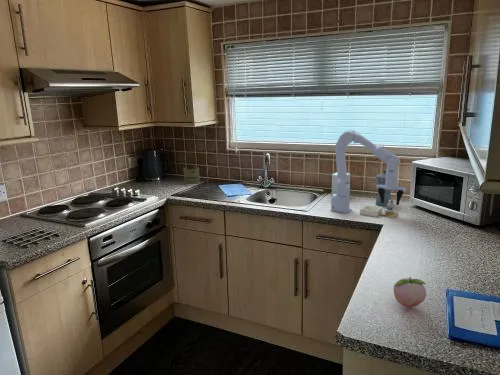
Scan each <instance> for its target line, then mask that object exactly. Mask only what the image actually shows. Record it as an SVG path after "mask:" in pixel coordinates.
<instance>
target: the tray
mask: <svg viewBox="0 0 500 375" xmlns="http://www.w3.org/2000/svg"><path fill="white" fill-rule="evenodd" d="M383 208H384V207H382V206H378V205H370V204H365V205H364V206H362V207H361V208H359V215H362V216H368V217H374V218H378V217H379V216H380V215H381V213H382V212H383Z"/></svg>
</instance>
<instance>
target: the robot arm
mask: <svg viewBox="0 0 500 375" xmlns="http://www.w3.org/2000/svg"><path fill="white" fill-rule="evenodd" d="M351 143H353V144H360V145H362V146H364V147H365V148H367V149H368V150H370V151H371V152H372V154H373V156H375V157H376V158H377V159H378V160H380V161H382V162H384V163H385V165H386V169H385V171H386V182H385V185H377V184H376V189H377V193H379V195H380V198H381V202H382V203H384V194H385V190H391V191H395V192H396V202H395V203H396V206H399V204H400V200H401V198H402V197H403V195H404V193H405V192H407V187H404V186H399V185H398V179H399V177H398V174H399V169H398V168H399V161H400V158H399V156H398V155H397V154H395V153H393V152H390V151H389V150H388V149H386V147H385V146H384V145H376V144H374V143H373V142H372V141H370V140H369V139H367V138H366V137H365V136H364V135H362V134H361V133H359V132H356V131H355V130H353V129H348V130H346V131H344V132H343V133H341V134H340V135H339V138H338V140H337V141H336V143H335V145H334V149H335V150H334V151H335V152H334V153H335V162H336V163H335V164H336V172H337V176H338V180H337V187H336V194H333V195H332V194H331V201H330V211H331V212H337V213H344V214H348V213H349V212H351V211H352V210H353V209H352V208H350V196H351V195H350V194H351V193H350V194H349V192H348V191H349V190H350V191H351V183H350V184H349V182H348V178H347V173H348V172H347V171H348V170H347V161H346V148H347V146H348V145H350V144H351Z"/></svg>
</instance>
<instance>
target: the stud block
mask: <svg viewBox="0 0 500 375" xmlns="http://www.w3.org/2000/svg"><path fill="white" fill-rule="evenodd" d="M398 215H399V212H397V211H394V213H386V212H385V210H383V211H382V213H381V214H380V215H379V216H380V217H386V218H392V219H395V218H396V217H397V216H398Z"/></svg>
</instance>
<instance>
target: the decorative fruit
mask: <svg viewBox="0 0 500 375" xmlns="http://www.w3.org/2000/svg"><path fill="white" fill-rule="evenodd" d="M424 285H427V283H426V282H425V281H423V280H421V279H419V278H412V277H411V276H409V278H408V277H405V278H400V279H398V280H397V282H395V283H394V285H393V295H394V298H395V300H396V302H398V303H399V304H400V305H401V306H404V307H406V308H407V309H408V308H414V307H417V306H419V305H420V304H422V303H424V300H425V299H426V298H427V290H426V287H425V286H424Z"/></svg>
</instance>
